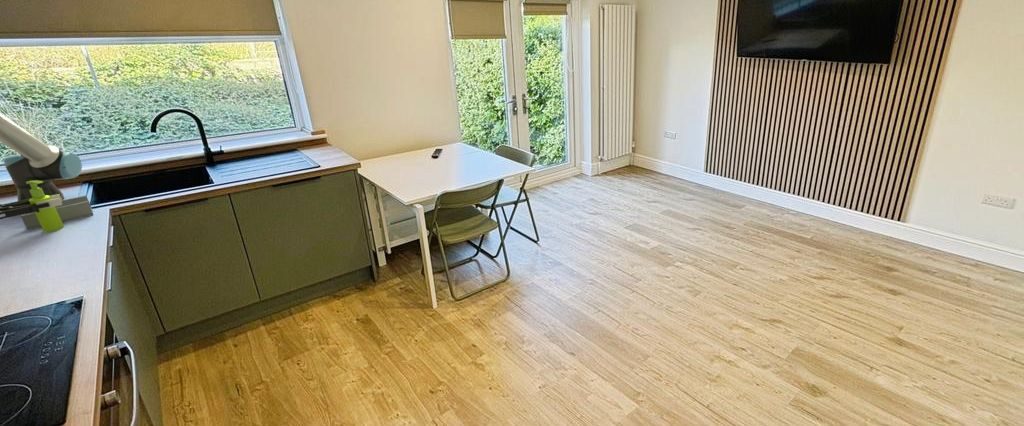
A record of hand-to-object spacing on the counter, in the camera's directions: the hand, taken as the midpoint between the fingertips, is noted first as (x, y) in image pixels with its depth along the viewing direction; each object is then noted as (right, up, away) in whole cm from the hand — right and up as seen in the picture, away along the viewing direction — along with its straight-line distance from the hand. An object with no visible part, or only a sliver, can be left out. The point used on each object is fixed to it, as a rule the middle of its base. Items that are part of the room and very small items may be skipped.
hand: (60, 199), depth 177 cm
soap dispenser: (-3, -12, +1) cm, 12 cm away
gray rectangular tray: (-11, -8, +12) cm, 18 cm away
